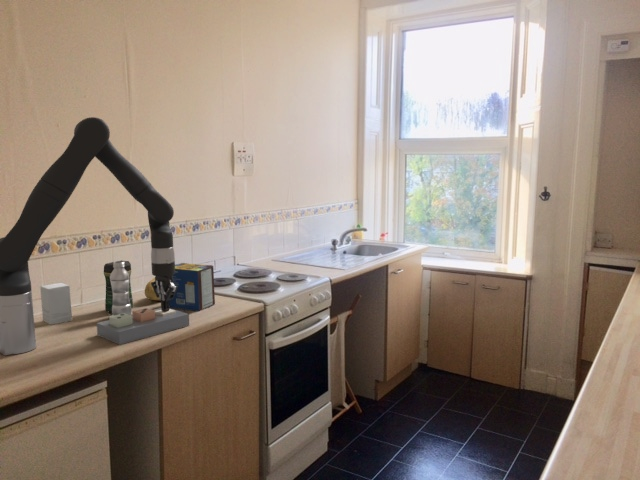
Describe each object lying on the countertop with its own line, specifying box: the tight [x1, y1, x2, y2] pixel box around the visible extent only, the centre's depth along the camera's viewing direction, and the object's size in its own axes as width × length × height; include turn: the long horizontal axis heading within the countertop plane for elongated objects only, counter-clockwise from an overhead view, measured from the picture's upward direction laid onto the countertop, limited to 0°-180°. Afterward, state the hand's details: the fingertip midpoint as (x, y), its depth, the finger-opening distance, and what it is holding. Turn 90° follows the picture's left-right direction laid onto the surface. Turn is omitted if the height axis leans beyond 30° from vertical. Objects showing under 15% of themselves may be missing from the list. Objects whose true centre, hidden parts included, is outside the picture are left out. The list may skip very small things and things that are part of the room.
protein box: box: [169, 262, 216, 312], centre depth 201 cm, size 10×15×16 cm
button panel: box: [96, 307, 190, 346], centre depth 172 cm, size 25×14×4 cm, turn 139°
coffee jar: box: [103, 259, 134, 314], centre depth 195 cm, size 10×8×19 cm
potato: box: [144, 277, 161, 301], centre depth 211 cm, size 10×14×10 cm
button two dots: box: [108, 313, 133, 328], centre depth 166 cm, size 5×5×5 cm
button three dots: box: [132, 307, 155, 322], centre depth 172 cm, size 5×5×5 cm
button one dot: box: [155, 308, 176, 316], centre depth 178 cm, size 5×5×5 cm
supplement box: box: [39, 282, 73, 326], centre depth 182 cm, size 7×7×13 cm
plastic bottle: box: [110, 260, 133, 316], centre depth 186 cm, size 6×7×20 cm
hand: (165, 310), depth 178 cm, fingers closed
